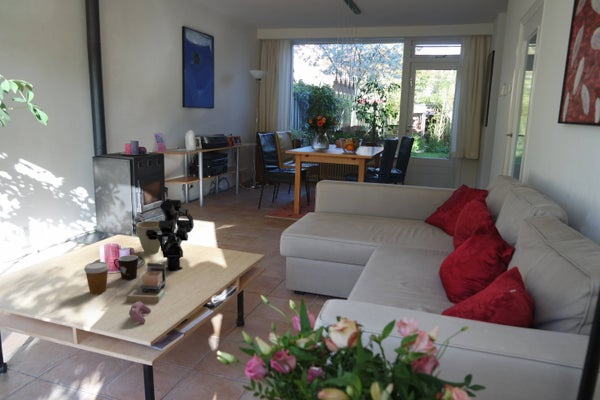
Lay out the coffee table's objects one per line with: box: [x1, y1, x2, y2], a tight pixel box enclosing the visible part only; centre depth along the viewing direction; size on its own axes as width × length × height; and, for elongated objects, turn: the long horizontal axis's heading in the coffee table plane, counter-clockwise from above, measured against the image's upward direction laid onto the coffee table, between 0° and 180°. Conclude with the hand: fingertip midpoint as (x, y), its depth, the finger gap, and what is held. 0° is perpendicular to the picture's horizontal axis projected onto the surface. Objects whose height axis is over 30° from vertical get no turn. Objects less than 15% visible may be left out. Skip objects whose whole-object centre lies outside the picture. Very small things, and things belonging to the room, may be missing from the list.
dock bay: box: [126, 288, 166, 304], centre depth 181 cm, size 9×13×3 cm
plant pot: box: [135, 220, 162, 255], centre depth 242 cm, size 15×15×16 cm
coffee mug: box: [113, 254, 139, 281], centre depth 203 cm, size 12×9×10 cm
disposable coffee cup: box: [83, 261, 110, 295], centre depth 186 cm, size 10×10×12 cm
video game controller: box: [128, 301, 152, 324], centre depth 163 cm, size 10×5×7 cm, turn 5°
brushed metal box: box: [140, 262, 167, 294], centre depth 189 cm, size 9×8×10 cm
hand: (163, 250), depth 201 cm, fingers closed
